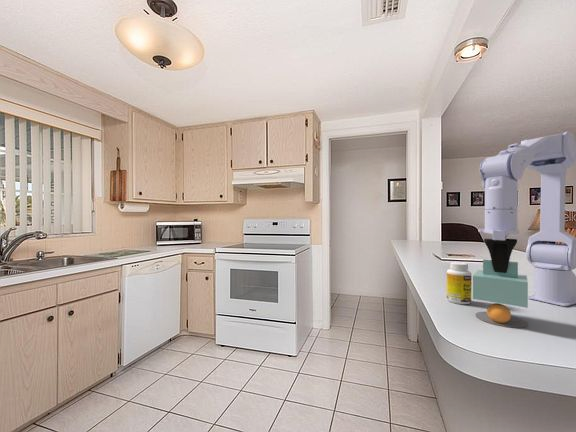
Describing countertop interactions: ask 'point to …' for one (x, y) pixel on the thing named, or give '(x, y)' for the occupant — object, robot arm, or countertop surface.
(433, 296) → the countertop surface
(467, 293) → the supplement bottle
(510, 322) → the disc
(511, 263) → the two-tier mint step
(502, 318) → the ball
